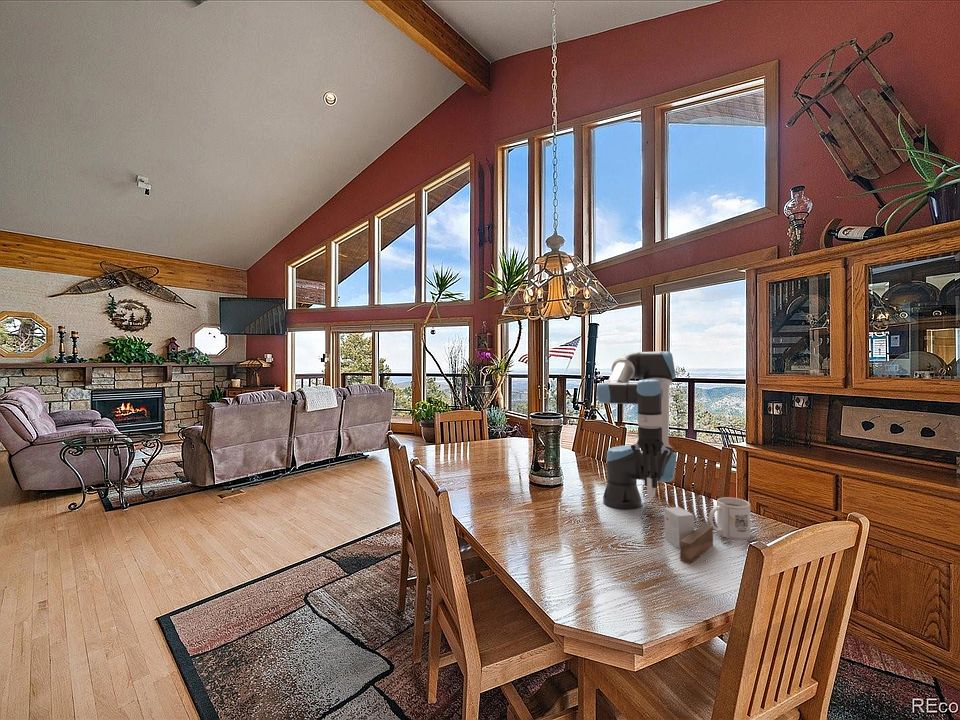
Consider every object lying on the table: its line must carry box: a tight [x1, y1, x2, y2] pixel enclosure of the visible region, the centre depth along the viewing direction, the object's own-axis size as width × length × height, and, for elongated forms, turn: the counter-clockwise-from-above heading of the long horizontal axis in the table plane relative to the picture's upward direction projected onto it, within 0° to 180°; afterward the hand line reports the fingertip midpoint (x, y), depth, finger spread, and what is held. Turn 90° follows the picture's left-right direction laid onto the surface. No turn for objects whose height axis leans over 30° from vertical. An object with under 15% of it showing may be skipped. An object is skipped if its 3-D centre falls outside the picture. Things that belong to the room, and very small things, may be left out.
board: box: [679, 523, 714, 565], centre depth 139 cm, size 3×18×6 cm, turn 134°
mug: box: [708, 496, 752, 541], centre depth 152 cm, size 10×12×11 cm
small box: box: [663, 506, 695, 550], centre depth 146 cm, size 8×6×10 cm
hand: (651, 496), depth 150 cm, fingers closed
